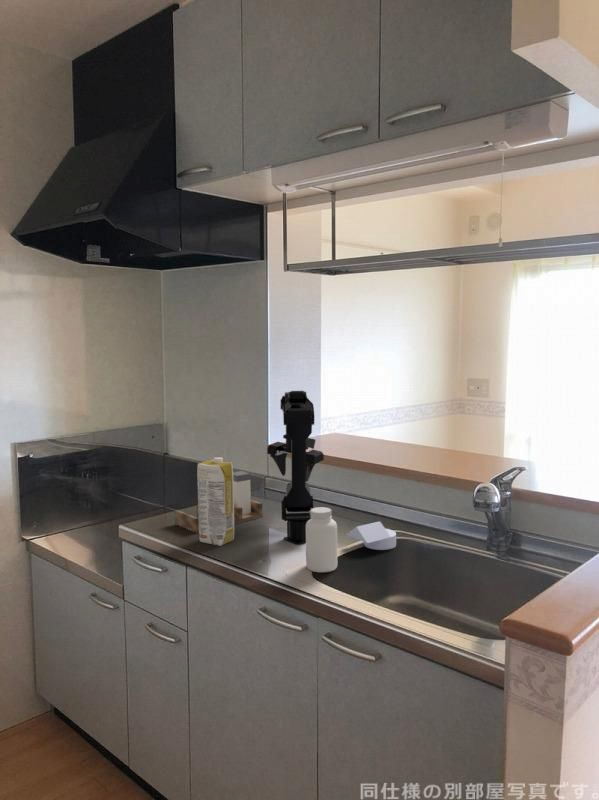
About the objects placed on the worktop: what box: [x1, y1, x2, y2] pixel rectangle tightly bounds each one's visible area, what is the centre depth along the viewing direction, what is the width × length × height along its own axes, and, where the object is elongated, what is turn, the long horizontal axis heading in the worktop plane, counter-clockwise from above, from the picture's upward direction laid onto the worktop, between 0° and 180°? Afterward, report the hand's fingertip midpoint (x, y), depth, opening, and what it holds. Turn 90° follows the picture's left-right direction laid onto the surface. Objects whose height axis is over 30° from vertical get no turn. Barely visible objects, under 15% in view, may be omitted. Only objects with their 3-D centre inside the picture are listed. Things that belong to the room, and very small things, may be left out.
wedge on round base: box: [345, 521, 397, 551], centre depth 179 cm, size 9×7×13 cm
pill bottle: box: [305, 506, 338, 573], centre depth 163 cm, size 8×8×15 cm
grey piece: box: [233, 470, 252, 515], centre depth 209 cm, size 5×5×13 cm
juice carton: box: [196, 457, 235, 547], centre depth 183 cm, size 9×8×24 cm
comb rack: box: [174, 499, 264, 534], centre depth 204 cm, size 12×25×4 cm, turn 132°
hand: (295, 478), depth 206 cm, fingers open, 9 cm apart
